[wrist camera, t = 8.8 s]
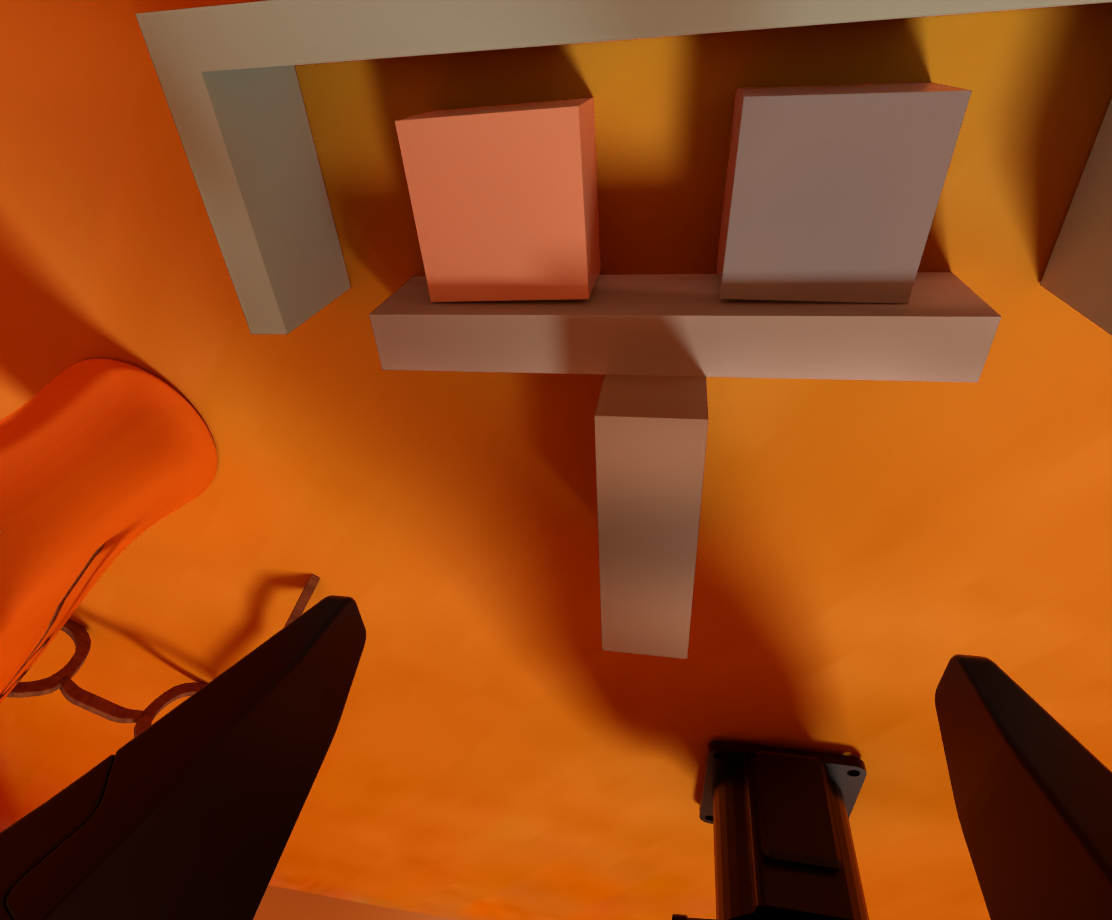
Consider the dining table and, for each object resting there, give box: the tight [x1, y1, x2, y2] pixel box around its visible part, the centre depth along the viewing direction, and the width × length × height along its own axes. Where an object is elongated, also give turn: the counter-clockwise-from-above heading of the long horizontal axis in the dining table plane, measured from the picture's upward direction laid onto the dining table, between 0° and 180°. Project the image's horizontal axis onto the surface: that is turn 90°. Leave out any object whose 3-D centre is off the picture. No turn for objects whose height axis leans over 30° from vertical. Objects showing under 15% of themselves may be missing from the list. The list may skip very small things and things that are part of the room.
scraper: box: [369, 272, 1001, 659], centre depth 17 cm, size 9×14×5 cm, turn 94°
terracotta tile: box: [395, 97, 601, 302], centre depth 15 cm, size 4×4×2 cm
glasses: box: [6, 575, 320, 737], centre depth 27 cm, size 13×13×5 cm
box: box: [135, 0, 1112, 335], centre depth 13 cm, size 6×20×4 cm, turn 94°
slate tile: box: [716, 82, 971, 304], centre depth 14 cm, size 4×4×2 cm
